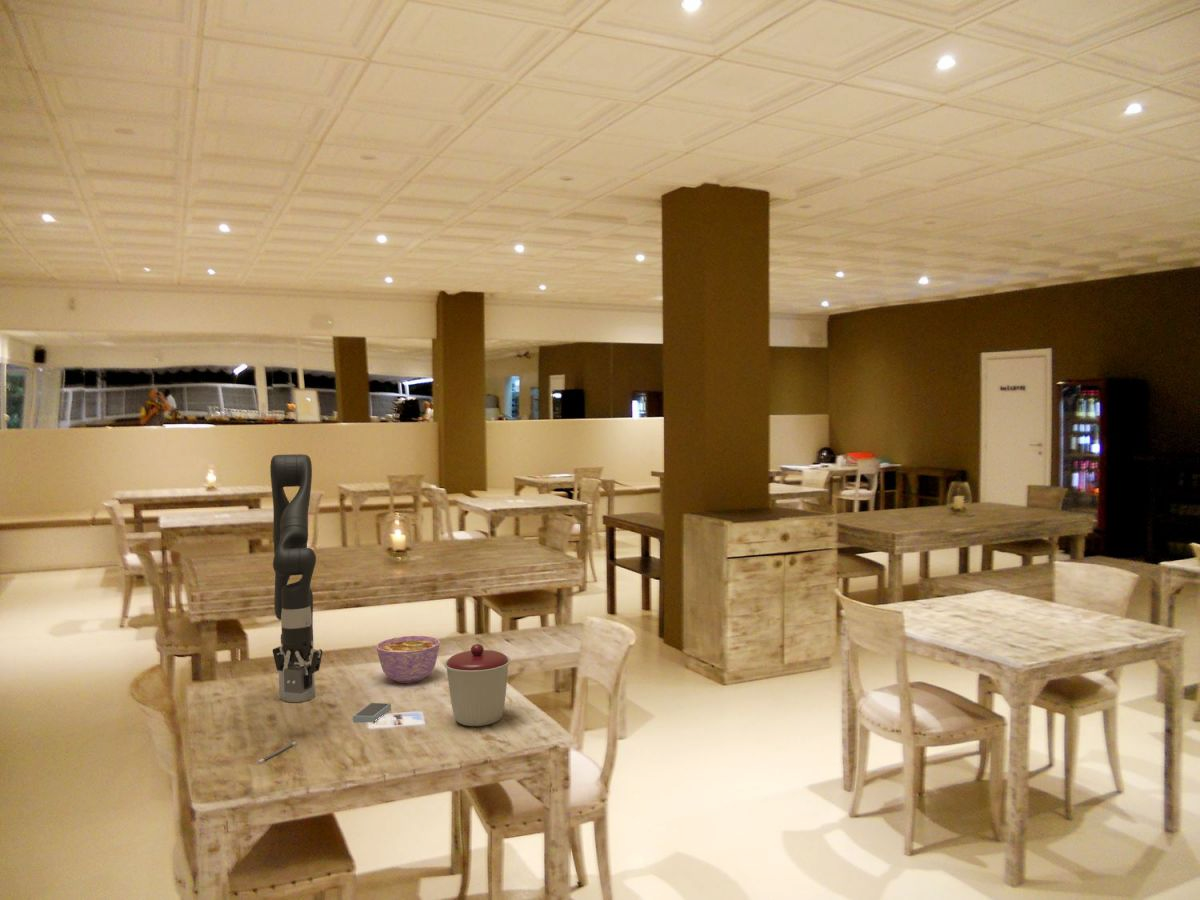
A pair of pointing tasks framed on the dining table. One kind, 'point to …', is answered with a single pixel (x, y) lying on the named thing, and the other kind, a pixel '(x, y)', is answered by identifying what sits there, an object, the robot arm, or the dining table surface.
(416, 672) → the bowl of food
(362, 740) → the dining table surface
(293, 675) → the charger
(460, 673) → the canister
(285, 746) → the cable
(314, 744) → the dining table surface
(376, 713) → the phone
